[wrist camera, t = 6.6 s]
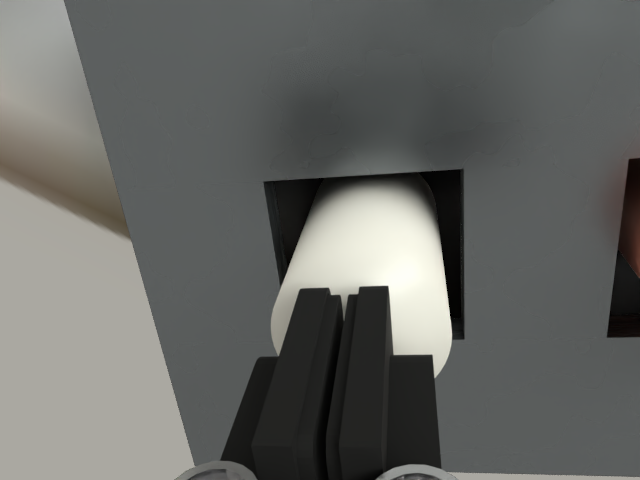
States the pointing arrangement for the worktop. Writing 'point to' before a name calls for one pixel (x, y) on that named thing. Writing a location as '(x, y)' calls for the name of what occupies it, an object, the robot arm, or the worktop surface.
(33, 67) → the worktop surface
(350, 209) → the cream plug
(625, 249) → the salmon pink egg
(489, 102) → the panel
